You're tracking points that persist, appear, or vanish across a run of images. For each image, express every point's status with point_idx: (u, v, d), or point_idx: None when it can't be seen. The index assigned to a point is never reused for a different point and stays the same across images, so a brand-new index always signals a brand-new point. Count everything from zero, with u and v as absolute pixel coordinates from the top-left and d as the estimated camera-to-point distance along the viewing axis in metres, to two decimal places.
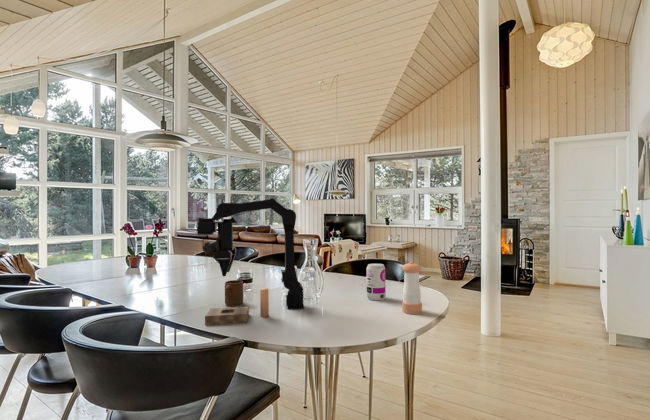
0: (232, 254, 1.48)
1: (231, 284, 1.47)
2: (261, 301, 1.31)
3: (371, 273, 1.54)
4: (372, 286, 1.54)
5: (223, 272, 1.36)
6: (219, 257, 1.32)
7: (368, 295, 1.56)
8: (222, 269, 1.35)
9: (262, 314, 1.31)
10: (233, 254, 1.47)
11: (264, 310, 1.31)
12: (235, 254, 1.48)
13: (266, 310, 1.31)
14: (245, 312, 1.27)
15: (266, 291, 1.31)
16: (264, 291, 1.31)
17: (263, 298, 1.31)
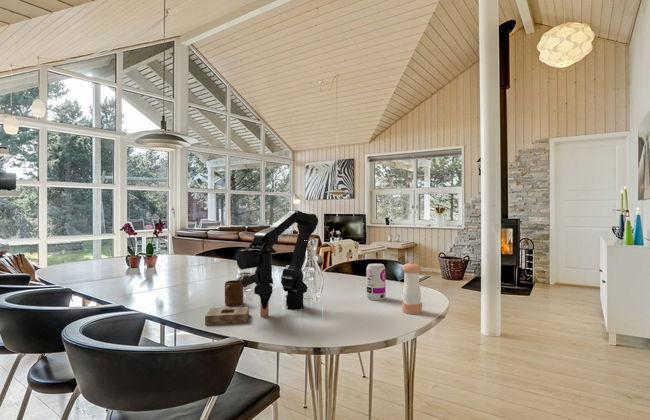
0: None
1: (231, 284, 1.47)
2: None
3: (371, 273, 1.54)
4: (372, 286, 1.54)
5: (263, 305, 1.30)
6: (260, 292, 1.23)
7: (368, 295, 1.56)
8: (262, 302, 1.30)
9: (262, 314, 1.31)
10: None
11: (264, 310, 1.31)
12: (272, 287, 1.36)
13: (266, 310, 1.31)
14: (245, 312, 1.27)
15: None
16: None
17: None
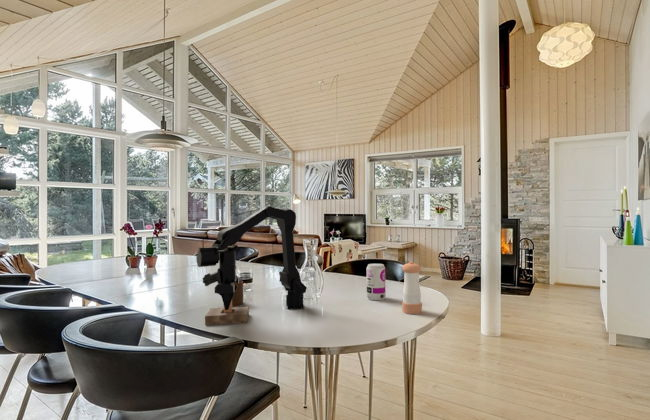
0: (234, 285, 1.34)
1: None
2: None
3: (371, 273, 1.54)
4: (372, 286, 1.54)
5: (226, 305, 1.25)
6: (221, 291, 1.20)
7: (368, 295, 1.56)
8: (225, 302, 1.25)
9: None
10: (235, 285, 1.34)
11: None
12: (237, 285, 1.34)
13: None
14: (245, 312, 1.27)
15: None
16: None
17: None
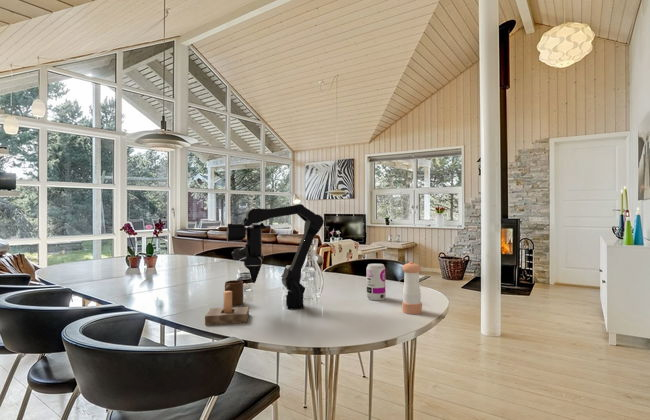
0: None
1: (231, 284, 1.47)
2: (224, 304, 1.28)
3: (371, 273, 1.54)
4: (372, 286, 1.54)
5: (253, 279, 1.34)
6: (250, 264, 1.30)
7: (368, 295, 1.56)
8: (252, 276, 1.33)
9: None
10: None
11: None
12: (262, 260, 1.46)
13: None
14: (245, 312, 1.27)
15: (229, 294, 1.28)
16: (227, 294, 1.27)
17: (226, 301, 1.27)
